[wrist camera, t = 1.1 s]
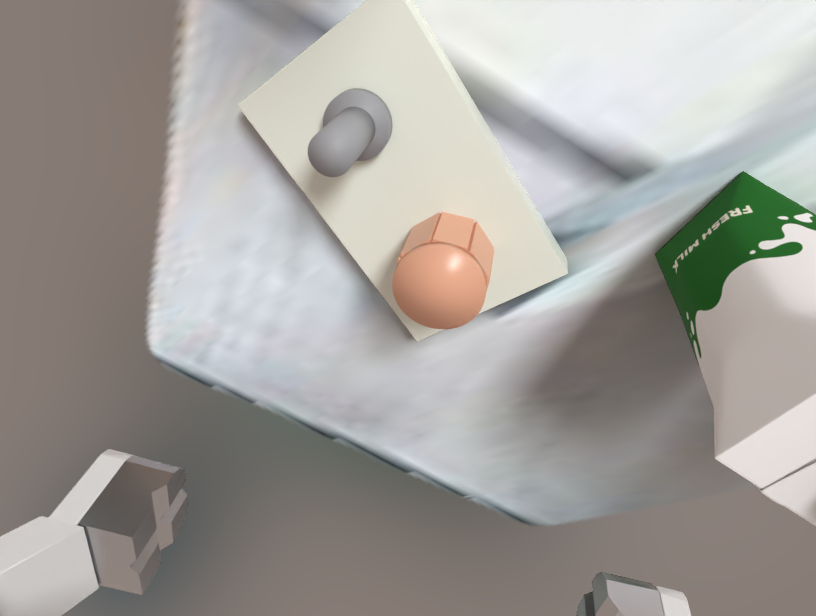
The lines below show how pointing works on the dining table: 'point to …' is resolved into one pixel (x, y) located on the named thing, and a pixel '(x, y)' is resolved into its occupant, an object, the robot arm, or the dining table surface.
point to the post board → (398, 150)
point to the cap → (443, 271)
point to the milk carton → (754, 333)
